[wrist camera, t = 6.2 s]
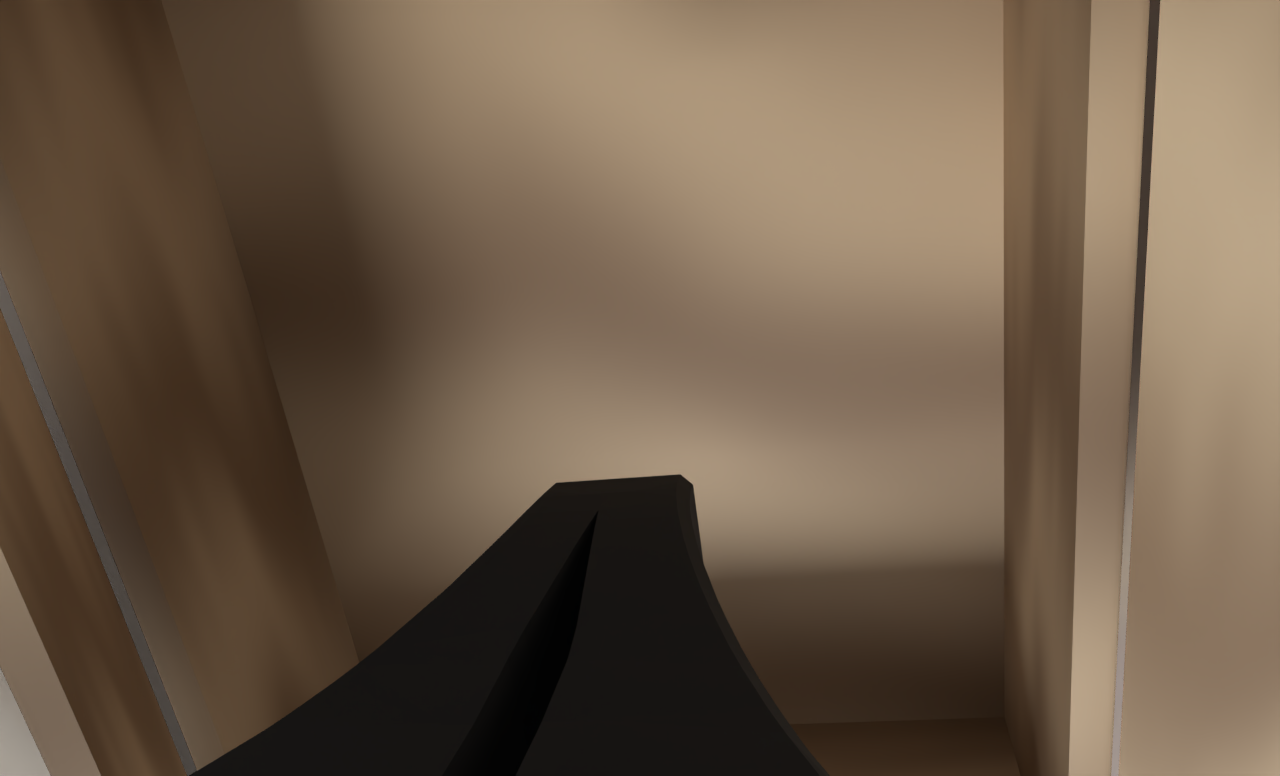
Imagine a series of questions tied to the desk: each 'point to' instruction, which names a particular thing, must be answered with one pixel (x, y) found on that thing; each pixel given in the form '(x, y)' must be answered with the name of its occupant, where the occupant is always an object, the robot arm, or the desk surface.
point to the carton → (601, 330)
